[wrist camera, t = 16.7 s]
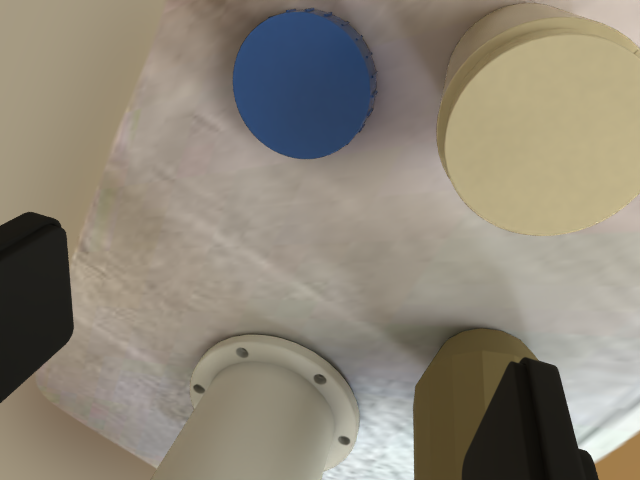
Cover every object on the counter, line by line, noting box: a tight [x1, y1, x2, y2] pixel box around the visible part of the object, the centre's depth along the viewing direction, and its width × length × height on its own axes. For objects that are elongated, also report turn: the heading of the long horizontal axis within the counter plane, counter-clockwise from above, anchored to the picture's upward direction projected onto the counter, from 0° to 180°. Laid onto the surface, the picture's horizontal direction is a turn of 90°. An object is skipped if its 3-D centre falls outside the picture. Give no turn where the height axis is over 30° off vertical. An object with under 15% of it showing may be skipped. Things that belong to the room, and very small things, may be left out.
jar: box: [436, 3, 640, 236], centre depth 19 cm, size 6×6×11 cm
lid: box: [233, 8, 378, 159], centre depth 25 cm, size 7×7×2 cm
